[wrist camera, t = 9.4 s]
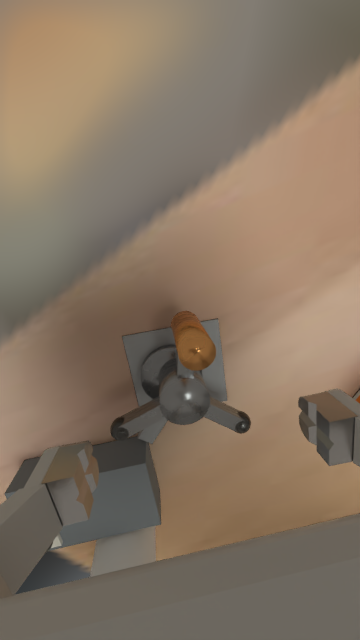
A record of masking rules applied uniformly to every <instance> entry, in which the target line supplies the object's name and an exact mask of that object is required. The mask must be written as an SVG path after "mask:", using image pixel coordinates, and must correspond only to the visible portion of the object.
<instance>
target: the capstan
mask: <svg viewBox="0 0 360 640" xmlns="http://www.w3.org/2000/svg"><path fill="white" fill-rule="evenodd" d="M171 328H172V332H173V336H174V340H175V344H176V345H165V346H161V347H159V348H157V349H155V350H153V351H152V352H151V353H150V354H149V355H148V356H147V357H146V358H145V360H144V362H143V364H142V368H141V384H142V387H143V389H144V391H145V392H146V394H147V395H148V396H149V397H151V398H152V399H153V400H151V401H149V402H147V403H145V404H144V405H142V406H140V407H138V408H136V409H134V410H132V411H131V412H129V413H127V414H125V415H123V416H121V417H119V418H117V419H115V420H114V421H113V423H112V425H111V428H110V431H111V435H112V437H113V438H114V439H116V440H119V441H122V440H125V439H127V438H129V437H130V436H132V435H134V434H136V433H138V432H140V431H142V430H143V429H145V428H147V427H149V426H151V425H153V424H155V423H157V422H158V421H160V420H162V419H164V418H166V419H167V420H169V421H170V422H172V423H175V424H180V425H186V424H191V423H194V422H196V421H198V420H200V419H201V418H202V417H206V418H208V419H210V420H212V421H214V422H216V423H219V424H221V425H223V426H225V427H227V428H229V429H231V430H234V431H235V432H237V433H245V432H247V431H248V430H249V428H250V425H251V421H250V418H249V416H248V415H247V414H246V413H244V412H242V411H239V410H237V409H234V408H232V407H230V406H228V405H226V404H224V403H222V402H220V401H218V400H216V399H214V398H212V397H210V395H209V392H208V390H207V387H206V385H205V382H204V380H203V377H202V370H203V369H205V368H207V367H208V366H210V365H211V364H212V363H213V361H214V359H215V357H216V347H215V344H214V343H213V341H212V340H211V338H210V337H209V335H208V334H207V332H206V330H205V329H204V327H203V326H202V324H201V323H200V321H199V320H198V318H197V317H196V315H195V314H193V313H192V312H189V311H182V312H179V313H177V314H176V315H175V316H174V317H173V319H172V322H171Z"/></svg>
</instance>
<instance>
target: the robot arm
mask: <svg viewBox="0 0 360 640" xmlns="http://www.w3.org/2000/svg"><path fill="white" fill-rule="evenodd" d="M298 405H299V407H300V408H301V410H302V412H301V413H300V415H299V424H300V427H301V430H302V432H303V434H304V436H305V437H306V438H307V440H308V441H309V442H311V443H313V444H315V445H317V452H318V453H319V454H320V455H321V457H322V458H323V459H324V460H325V461H326V463H327V464H328V465H329V466H331V465H337V464H342V463H347V462H352V461H353V463H354V464H356V465H358V466H360V403H358V402H357V401H356V400H354V399H353V398H351V397H350V396H349V395H347V394H346V393H345V392H343V391H342V390H340V389H333V390H328V391H324V392H321V393H317V394H312V395H307V396H303V397H300V398H299V401H298ZM92 452H93V447H92V444H91V442H90V441H83V442H78V443H72V444H67V445H62V446H57V447H52V448H48V449H46V450H45V451H44V453H43V454H42V456H41V458H40V460H39V462H38V463H37V465H36V467H35V469H34V470H33V472H32V474H31V476H30V478H29V479H28V481H27V483H26V485H25V486H24V488H22V489H19V490H17V491H16V492H15V493H14V494H13V495H12V496H10V497H9V498H8V499H7V500H6V501H5V502H3V503H2V504H1V505H0V640H360V513H359V514H355V515H350V516H346V517H342V518H338V519H333V520H329V521H325V522H321V523H317V524H312V525H308V526H304V527H300V528H296V529H291V530H287V531H283V532H279V533H274V534H270V535H266V536H262V537H258V538H253V539H249V540H245V541H241V542H236V543H232V544H228V545H224V546H219V547H215V548H211V549H207V550H202V551H198V552H194V553H190V554H186V555H181V556H177V557H173V558H169V559H164V560H160V561H156V562H152V563H147V564H143V565H139V566H135V567H131V568H126V569H122V570H118V571H114V572H109V573H105V574H101V575H97V576H92V577H88V578H84V579H80V580H76V581H71V582H68V583H63V584H59V585H54V586H50V587H46V588H42V589H38V590H33V591H29V592H25V593H21V594H16V595H15V593H16V591H17V590H18V589H19V588H20V586H21V585H22V583H23V582H24V581H25V579H26V578H27V577H28V575H29V574H30V572H31V571H32V570H33V568H34V567H35V566H36V564H37V563H38V561H39V560H40V559H41V557H42V556H43V555H44V553H45V552H46V550H47V549H48V548H49V546H50V545H51V544H52V542H53V541H54V539H55V538H56V537H57V535H58V534H59V533H60V531H61V530H62V528H63V527H62V526H66V525H70V524H74V523H78V522H82V521H86V520H89V517H90V513H91V509H92V505H93V501H94V499H93V496H92V493H93V491H94V490H95V489H96V488H97V484H98V480H99V468H98V463H97V459H96V458H95V457H93V456H92Z"/></svg>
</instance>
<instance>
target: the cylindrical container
mask: <svg viewBox="0 0 360 640" xmlns="http://www.w3.org/2000/svg"><path fill="white" fill-rule="evenodd" d="M152 562H156V538H155V526H152V527H148V528H144V529H140V530H135V531H131V532H127V533H122V534H118V535H114V536H110V537H105V538H101V539H97V541H96V547H95V552H94V558H93V563H92V568H91V574H90V577H92V576H97V575H101V574H105V573H109V572H114V571H118V570H122V569H126V568H131V567H135V566H139V565H143V564H147V563H152Z"/></svg>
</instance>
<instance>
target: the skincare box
mask: <svg viewBox="0 0 360 640" xmlns="http://www.w3.org/2000/svg"><path fill="white" fill-rule="evenodd" d="M353 399H354V400H356V401H357V402H358V403H360V390H359V391H358V393H357V394H356V395H355V396H354V397H353Z"/></svg>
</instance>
